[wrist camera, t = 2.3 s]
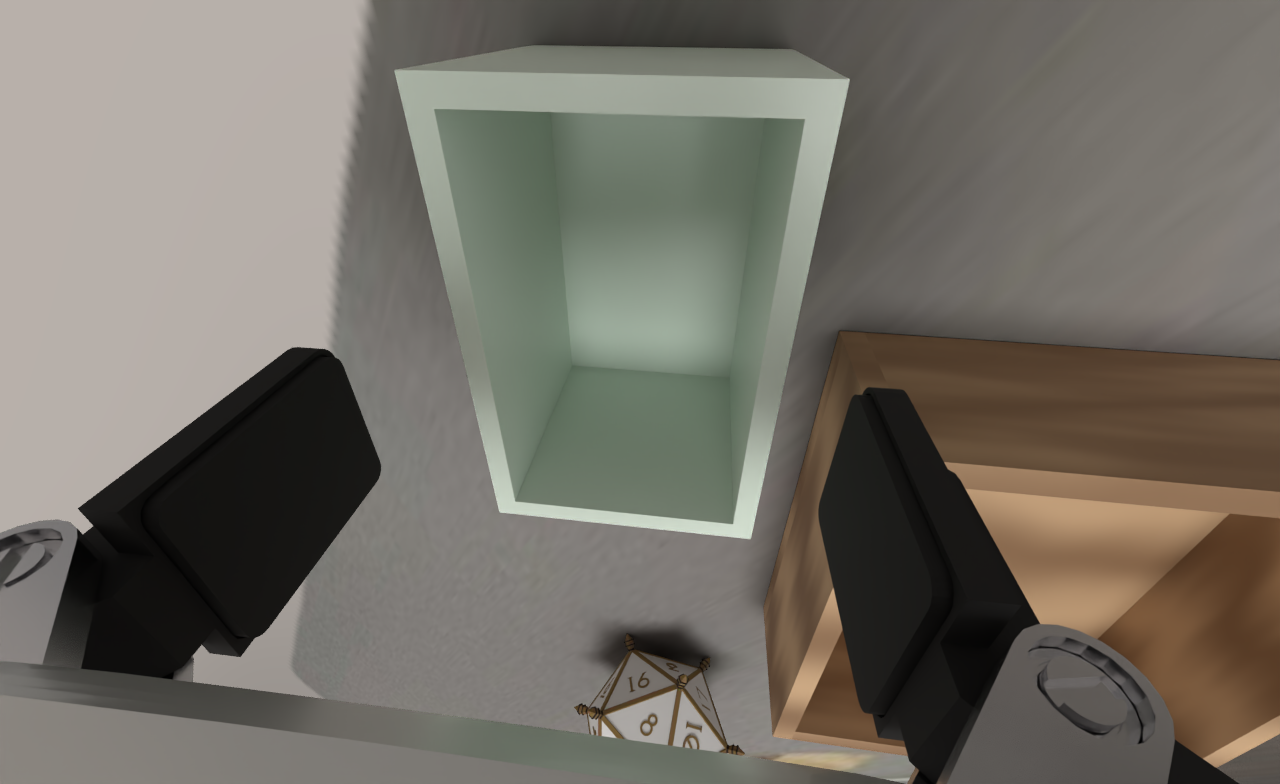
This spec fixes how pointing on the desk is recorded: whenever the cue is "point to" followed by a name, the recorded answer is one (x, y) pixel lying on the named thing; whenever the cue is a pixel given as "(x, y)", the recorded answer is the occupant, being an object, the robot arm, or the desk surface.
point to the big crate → (1071, 521)
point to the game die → (657, 704)
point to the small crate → (626, 265)
